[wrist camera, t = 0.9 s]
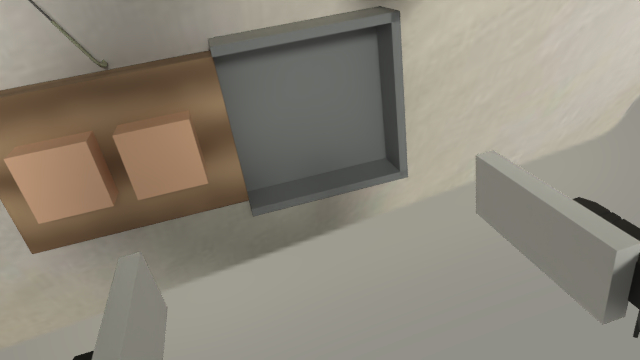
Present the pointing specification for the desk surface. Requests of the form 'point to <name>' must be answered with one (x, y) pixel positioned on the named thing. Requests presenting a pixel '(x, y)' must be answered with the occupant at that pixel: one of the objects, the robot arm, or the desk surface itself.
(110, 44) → the desk surface
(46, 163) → the tile
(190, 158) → the tile
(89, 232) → the wooden plank
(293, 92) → the tray
